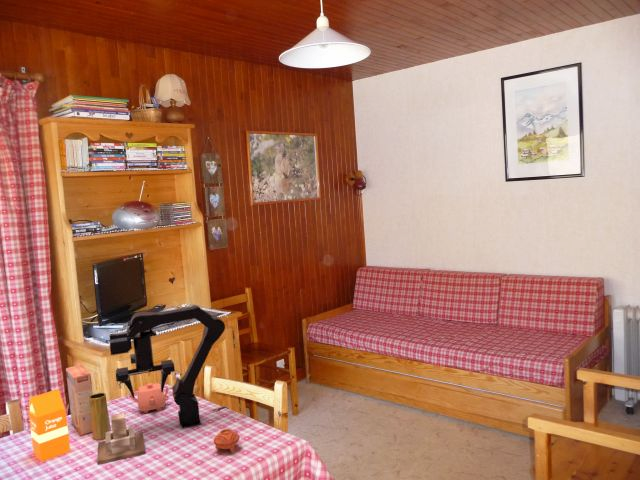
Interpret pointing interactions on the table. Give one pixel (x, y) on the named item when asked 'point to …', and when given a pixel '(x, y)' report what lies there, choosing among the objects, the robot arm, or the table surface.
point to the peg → (119, 426)
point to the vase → (99, 416)
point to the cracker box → (80, 398)
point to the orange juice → (48, 425)
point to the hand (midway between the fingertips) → (147, 394)
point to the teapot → (150, 397)
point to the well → (120, 447)
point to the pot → (226, 439)
